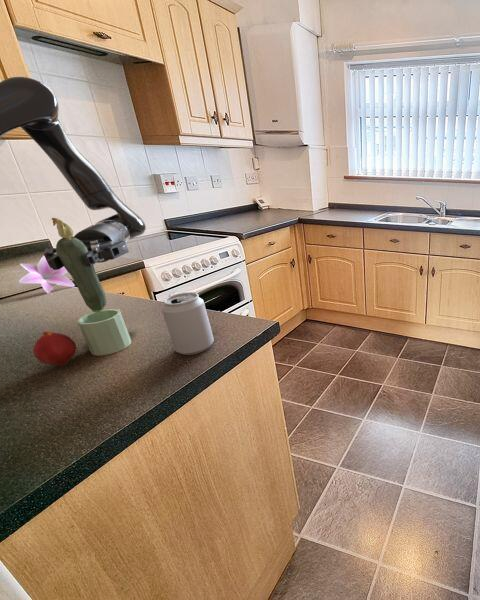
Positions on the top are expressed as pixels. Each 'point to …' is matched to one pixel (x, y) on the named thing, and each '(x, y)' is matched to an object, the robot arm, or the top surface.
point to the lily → (45, 275)
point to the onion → (54, 348)
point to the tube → (104, 332)
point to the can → (187, 323)
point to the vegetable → (79, 267)
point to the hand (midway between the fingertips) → (70, 262)
